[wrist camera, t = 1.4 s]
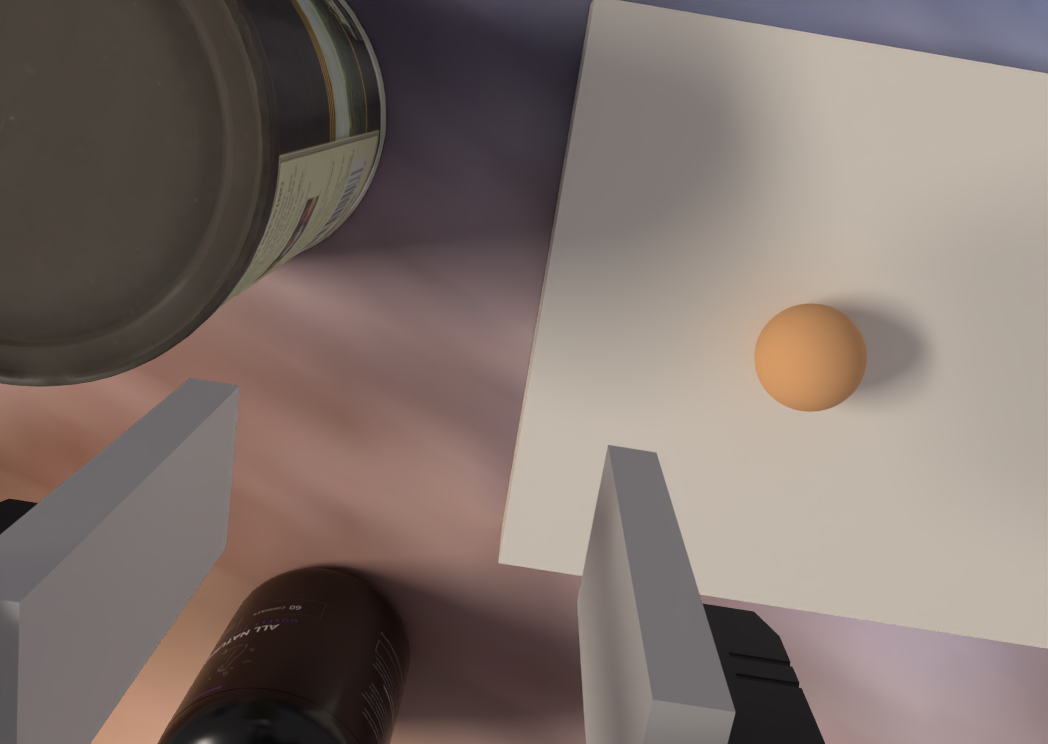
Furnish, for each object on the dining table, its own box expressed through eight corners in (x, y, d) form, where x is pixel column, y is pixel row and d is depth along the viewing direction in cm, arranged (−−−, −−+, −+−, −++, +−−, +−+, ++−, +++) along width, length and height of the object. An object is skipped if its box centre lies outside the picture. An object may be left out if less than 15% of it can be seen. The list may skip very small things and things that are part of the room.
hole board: (590, 4, 31) (595, -4, 28) (1452, 151, 32) (1543, 158, 29) (501, 524, 36) (498, 562, 33) (1248, 641, 37) (1308, 689, 34)
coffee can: (81, -94, 30) (-289, -237, 17) (411, -26, 31) (306, -112, 17) (60, 233, 33) (-271, 335, 20) (362, 293, 34) (240, 432, 20)
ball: (757, 285, 30) (781, 308, 27) (859, 302, 30) (895, 327, 27) (734, 384, 31) (755, 417, 28) (834, 400, 31) (865, 434, 28)
